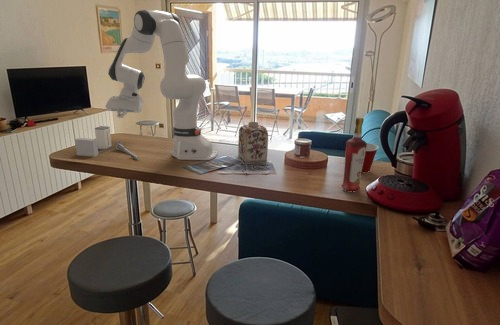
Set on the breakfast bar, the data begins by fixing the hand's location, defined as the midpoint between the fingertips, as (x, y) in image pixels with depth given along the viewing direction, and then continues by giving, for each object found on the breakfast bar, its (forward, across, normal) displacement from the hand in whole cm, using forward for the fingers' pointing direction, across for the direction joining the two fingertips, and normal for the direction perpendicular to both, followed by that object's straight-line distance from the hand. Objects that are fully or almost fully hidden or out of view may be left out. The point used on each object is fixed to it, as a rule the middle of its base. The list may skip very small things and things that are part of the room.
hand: (119, 117), depth 180 cm
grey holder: (+26, 0, -6) cm, 27 cm away
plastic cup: (+23, +128, -3) cm, 130 cm away
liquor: (+40, +120, -20) cm, 128 cm away
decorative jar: (+18, +76, +2) cm, 79 cm away
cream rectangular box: (+21, 0, -3) cm, 21 cm away
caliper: (+27, +16, -6) cm, 32 cm away
